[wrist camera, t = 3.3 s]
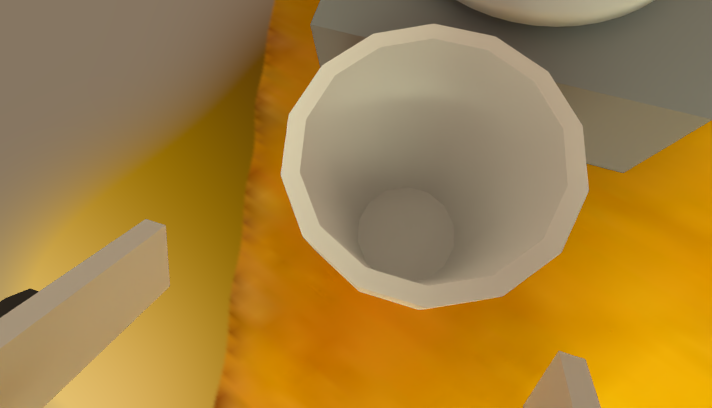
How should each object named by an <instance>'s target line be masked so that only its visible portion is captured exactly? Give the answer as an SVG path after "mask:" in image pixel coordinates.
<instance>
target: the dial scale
mask: <svg viewBox="0 0 712 408" xmlns="http://www.w3.org/2000/svg"><path fill="white" fill-rule="evenodd" d="M428 24H438V25H443V26H448V27H453V28H458V29H462V30H467V31H472V32H477V33H481V34H486V35H491V36H496V37H497V38H499V39H500V40H502V41H503V42H505V43H506V44H508V45H509V46H511V47H512V48H514V49H515V50H517V51H518V52H520V53H521V54H523V55H524V56H526V57H527V58H529V59H530V60H532V61H533V62H535V63H536V64H538V65H539V66H541V67H542V68H544V69H545V70H547V71H548V72H549V73H550V75H551V77H552V78H553V80H554V81H555V83H556V84H557V86H558V88H559V89H560V91H561V92H562V94H563V96H564V97H565V99H566V100H567V102H568V103H569V105H570V107H571V108H572V110H573V111H574V113H575V114H576V116H577V118H578V119H579V121H580V122H581V124H582V126H583V134H584V145H585V155H586V163H587V164H591V165H595V166H598V167H602V168H606V169H610V170H614V171H618V172H621V173H624V172H626V171H627V170H629V169H631V168H632V167H634V166H636V165H637V164H639V163H641V162H642V161H644V160H646V159H647V158H649V157H651V156H652V155H654V154H656V153H657V152H659V151H661V150H662V149H664V148H666V147H667V146H669V145H671V144H672V143H674V142H676V141H677V140H679V139H681V138H682V137H684V136H686V135H687V134H689V133H691V132H692V131H694V130H696V129H697V128H699V127H701V126H702V125H704V124H706V123H707V122H709V121H711V120H712V0H320V3H319V5H318V7H317V10H316V12H315V15H314V17H313V19H312V22H311V24H310V25H311V29H312V34H313V38H314V42H315V46H316V51H317V55H318V59H319V64H320V68H321V66H322V65H323V64H325V63H327V62H328V61H330V60H332V59H333V58H335V57H336V56H338V55H340V54H341V53H343V52H344V51H346V50H348V49H349V48H351V47H353V46H354V45H356V44H357V43H359V42H361V41H362V40H364V39H365V38H367V37H369V36H370V35H372V34H374V33H380V32H386V31H392V30H398V29H404V28H410V27H416V26H422V25H428Z"/></svg>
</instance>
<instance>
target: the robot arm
mask: <svg viewBox="0 0 712 408" xmlns="http://www.w3.org/2000/svg"><path fill="white" fill-rule="evenodd" d="M169 286H170V280H169V266H168V251H167V237H166V226H165V225H163V224H160V223H157V222H153V221H150V220H147V219H145V220H144V221H142V222H141V223H139V224H138V225H137V226H135V227H133V228H132V229H130V230H129V231H128V232H126V233H125V234H123V235H122V236H120V237H119V238H117V239H116V240H115V241H113V242H111V243H110V244H108V245H107V246H105V247H104V248H102V249H101V250H100V251H98V252H97V253H95V254H94V255H92V256H91V257H89V258H88V259H86V260H85V261H83V262H82V263H80V264H79V265H78V266H76V267H74V268H73V269H72V270H70V271H69V272H67V273H66V274H64V275H63V276H61V277H60V278H58V279H57V280H55V281H54V282H52V283H51V284H50V285H48V286H47V287H45V288H44V289H42V290H41V291H39V292H38V291H36V290H33V289H28V290H25V291H23V292H20V293H18V294H15V295H13V296H10V297H8V298H5V299H4V300H2V301H1V302H0V408H43V407H44V406H45V405H46V404H47V403H48V402H49V401H50V400H51V399H52V398H53V397H55V396H56V394H58V393H59V392H60V391H61V390H62V389H63V388H64V387H65V386H66V385H67V384H68V383H69V382H70V381H71V380H72V379H73V378H74V377H75V376H76V375H78V374H79V373H80V372H81V371H82V370H83V369H84V368H85V367H86V366H87V365H88V364H89V363H90V362H91V361H92V360H93V359H94V358H95V357H96V356H97V355H98V354H99V353H100V352H102V351H103V350H104V349H105V348H106V347H107V346H108V345H109V344H110V343H111V342H112V341H113V340H114V339H115V338H116V337H117V336H118V335H119V334H120V333H121V332H122V331H124V329H126V327H128V326H129V325H130V324H131V323H132V322H133V321H134V320H135V319H136V318H137V317H138V316H139V315H140V314H141V313H142V312H143V311H144V310H145V309H146V308H148V307H149V306H150V305H151V304H152V303H153V302H154V301H155V300H156V299H157V298H158V297H159V296H160V295H161V294H162V293H163V292H164V291H165V290H166V289H167V288H168V287H169ZM523 408H601V407H600V404H599V401H598V397H597V394H596V391H595V388H594V385H593V382H592V379H591V376H590V372H589V369H588V366H587V363H586V360H585V359H583V358H580V357H576V356H573V355H570V354H567V353H564V352H561V351H558V353H557V354H556V356H555V358H554V359H553V361H552V362H551V364H550V365H549V367H548V368H547V370H546V371H545V373H544V375H543V376H542V378H541V379H540V381H539V382H538V384H537V385H536V387H535V388H534V390H533V392H532V393H531V395H530V396H529V398H528V399H527V401H526V402H525V404H524V405H523Z"/></svg>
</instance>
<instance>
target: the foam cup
mask: <svg viewBox="0 0 712 408" xmlns="http://www.w3.org/2000/svg"><path fill="white" fill-rule="evenodd" d="M281 178H282V180H283V183H284V186H285V189H286V191H287V194H288V197H289V200H290V203H291V205H292V208H293V211H294V214H295V216H296V219H297V222H298V225H299V227H300V230H301V233H302V236H303V238H304V239H305V240H306V241H307V242H308V243H309V244H310V245H311V246H312V247H313V248H314V249H315V250H316V251H317V252H318V253H319V254H320V255H321V256H322V257H323V258H324V259H325V260H326V261H327V262H328V263H329V264H330V265H331V266H333V267H334V268H335V269H336V270H337V271H338V272H339V273H340V274H341V275H342V276H343V277H344V278H345V279H346V280H347V281H348V282H350V283H351V284H352V285H353V286H354V287H355V288H356V289H357V290H358V291H359V292H363V293H366V294H369V295H372V296H375V297H379V298H382V299H385V300H388V301H392V302H395V303H398V304H401V305H405V306H408V307H411V308H414V309H417V310H423V309H429V308H436V307H442V306H448V305H455V304H461V303H467V302H473V301H480V300H485V299H491V298H496V297H501V296H504V295H505V294H507V293H508V292H509V291H511V290H512V289H513V288H515V287H516V286H517V285H519V284H520V283H521V282H523V281H524V280H525V279H527V278H528V277H529V276H531V275H532V274H533V273H535V272H536V271H537V270H539V269H540V268H541V267H543V266H544V265H546V264H547V263H548V262H550V261H551V260H552V259H554V258H555V257H556V256H558V255H559V254H560V253H561V252H562V250H563V248H564V245H565V243H566V241H567V239H568V236H569V234H570V232H571V230H572V227H573V225H574V223H575V221H576V218H577V216H578V214H579V212H580V209H581V207H582V205H583V203H584V200H585V198H586V196H587V194H588V192H589V187H588V177H587V166H586V155H585V145H584V134H583V126H582V124H581V122H580V121H579V119H578V118H577V116H576V114H575V113H574V111H573V110H572V108H571V107H570V105H569V103H568V102H567V100H566V99H565V97H564V96H563V94H562V92H561V91H560V89H559V88H558V86H557V84H556V83H555V81H554V80H553V78H552V77H551V75H550V73H549V72H548V71H547V70H545V69H544V68H542V67H541V66H539V65H538V64H536V63H535V62H533V61H532V60H530V59H529V58H527V57H526V56H524V55H523V54H521V53H520V52H518V51H517V50H515V49H514V48H512V47H511V46H509V45H508V44H506V43H505V42H503V41H502V40H500V39H499V38H497V37H496V36H491V35H486V34H481V33H477V32H472V31H467V30H462V29H458V28H453V27H448V26H443V25H438V24H428V25H422V26H416V27H410V28H404V29H398V30H392V31H386V32H380V33H374V34H372V35H370V36H369V37H367V38H365V39H364V40H362V41H361V42H359V43H357V44H356V45H354V46H353V47H351V48H349V49H348V50H346V51H344V52H343V53H341V54H340V55H338V56H336V57H335V58H333V59H332V60H330V61H328V62H327V63H325V64H323V65H322V66H321V68H320V69H319V71H318V72H317V74H316V75H315V77H314V78H313V80H312V81H311V83H310V84H309V86H308V87H307V88H306V90H305V91H304V93H303V94H302V96H301V97H300V99H299V100H298V102H297V103H296V105H295V106H294V108H293V109H292V111H291V112H290V114H289V117H288V124H287V132H286V139H285V147H284V154H283V162H282V169H281Z"/></svg>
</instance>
